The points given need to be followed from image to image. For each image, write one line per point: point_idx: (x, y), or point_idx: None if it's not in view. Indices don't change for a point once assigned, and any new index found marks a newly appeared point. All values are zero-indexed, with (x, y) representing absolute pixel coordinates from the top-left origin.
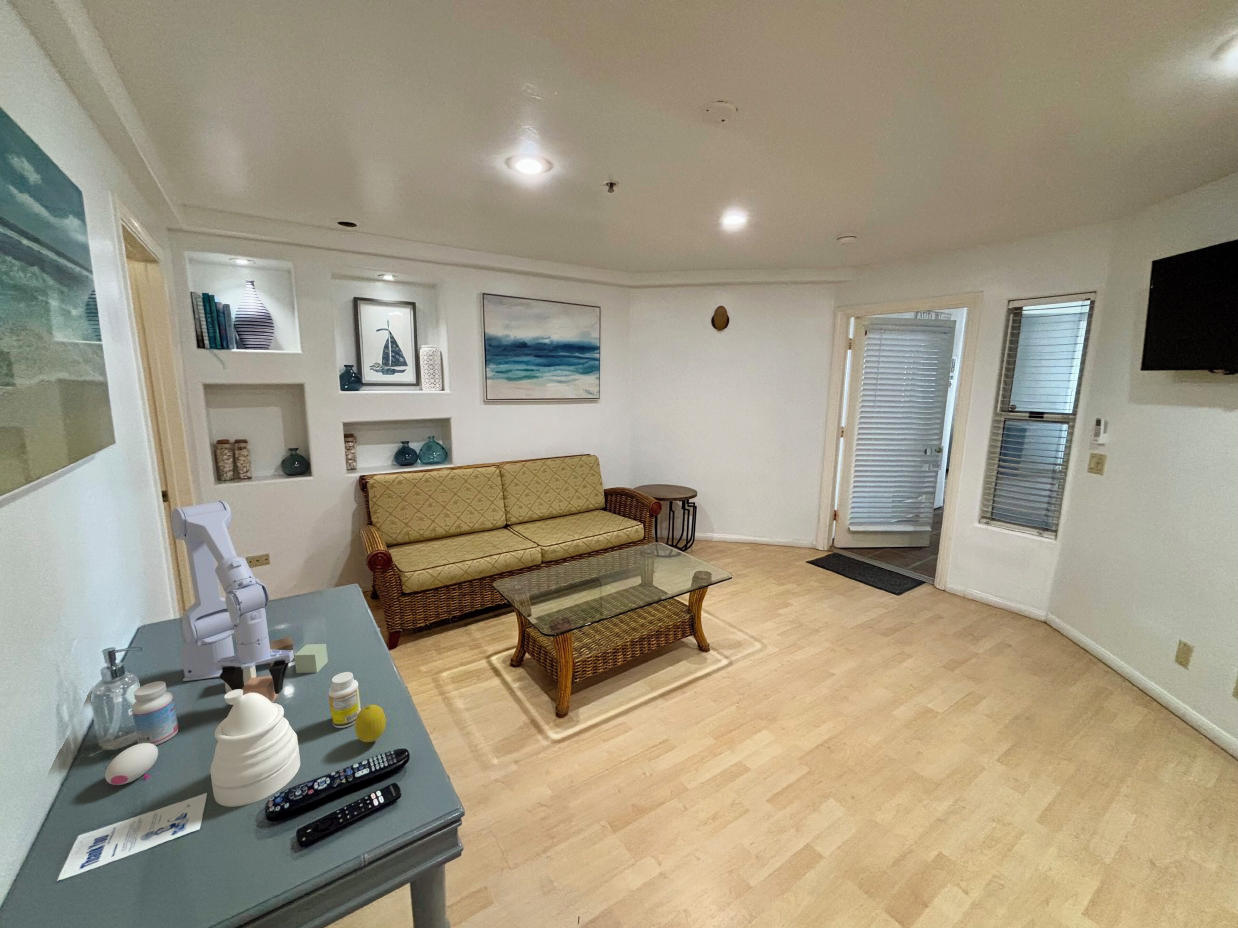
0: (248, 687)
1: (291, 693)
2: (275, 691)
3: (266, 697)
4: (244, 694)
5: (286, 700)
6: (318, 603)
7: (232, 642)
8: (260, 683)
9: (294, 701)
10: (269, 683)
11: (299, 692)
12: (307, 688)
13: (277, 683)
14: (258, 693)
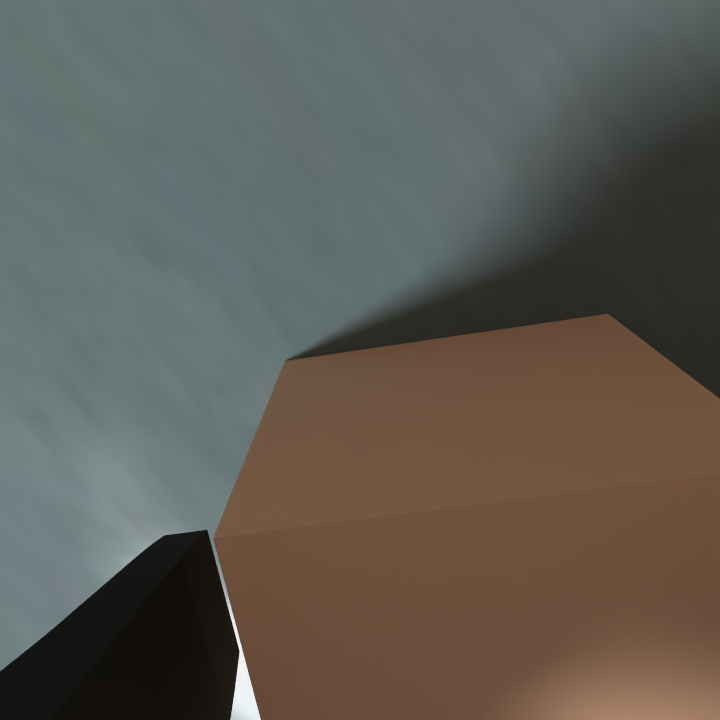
0: (660, 583)
1: None
2: (174, 549)
3: (266, 427)
4: (663, 428)
5: (142, 494)
6: None
7: None
8: (464, 702)
9: (17, 467)
10: (253, 687)
11: None
12: None
13: (20, 660)
14: (386, 456)
